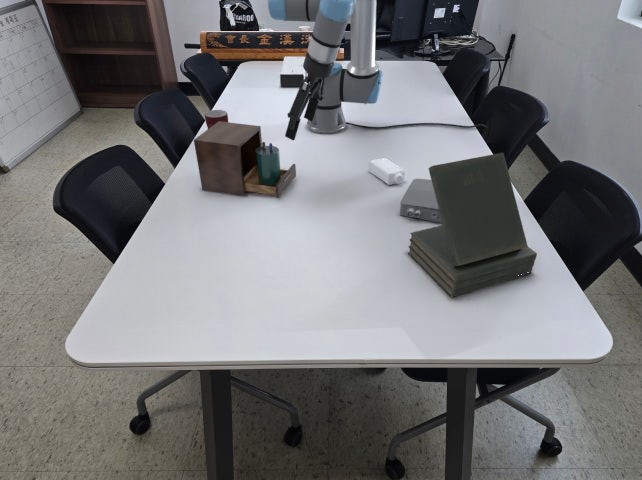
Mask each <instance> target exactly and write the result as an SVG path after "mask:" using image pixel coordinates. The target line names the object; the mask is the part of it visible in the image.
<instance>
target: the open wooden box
mask: <svg viewBox="0 0 642 480" xmlns="http://www.w3.org/2000/svg"><path fill="white" fill-rule="evenodd" d="M261 127H262V126H261V125H254V124H245V123H236V122H229V121H228V122H221V121H219V122H217V123H216V124H215V125H213V126H212V127H211V128H209V129H208V128H207V129H206V130H205V131H204V132H202V133H200V134H199V135H198V136H197V137H196V138H194V139H193V144H194V149H195V156H196V162H197V167H198V173H199V178H200V185H201V190H202V191H206V192H207V191H208V192H214V193H221V194H228V195H234V196H240V197H245V196H246V195H247V194H248V193H249V191H245V184H244V176H245V175H246V174H247V173H248V172H249V171H250V170H251V169H252V168H253V167H254V166H257V162H256V152H255V151H256V149H257V148H259V147H261V146H262V142H263V139H262V129H261Z"/></svg>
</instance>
